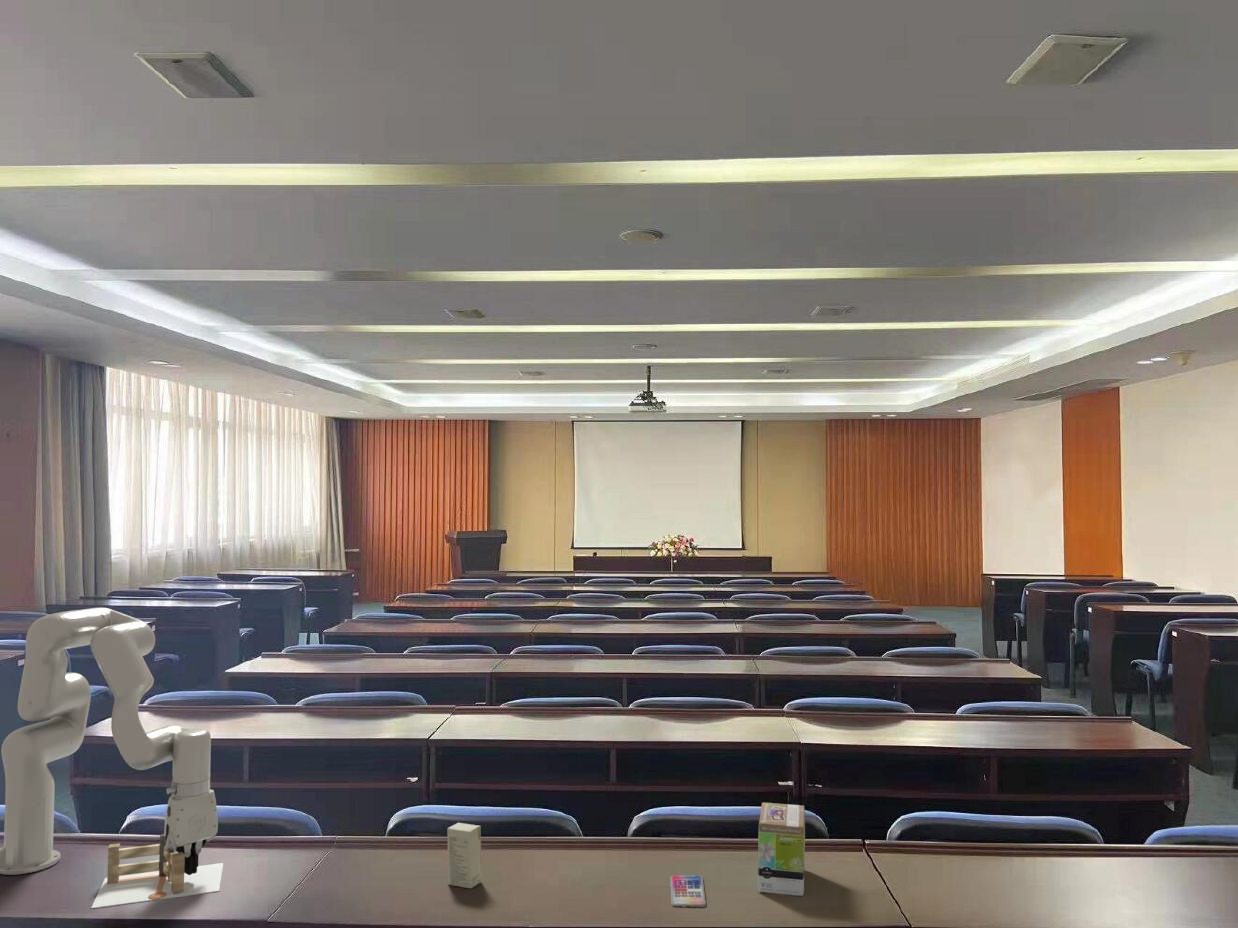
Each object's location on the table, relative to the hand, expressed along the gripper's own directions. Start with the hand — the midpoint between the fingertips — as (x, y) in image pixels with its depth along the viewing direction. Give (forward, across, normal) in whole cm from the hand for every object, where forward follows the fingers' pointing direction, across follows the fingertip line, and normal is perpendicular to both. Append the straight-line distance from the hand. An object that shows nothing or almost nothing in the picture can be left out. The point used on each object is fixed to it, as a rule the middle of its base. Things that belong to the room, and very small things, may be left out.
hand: (189, 872), depth 199 cm
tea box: (+3, +81, -102) cm, 130 cm away
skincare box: (+3, +37, -48) cm, 60 cm away
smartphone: (+3, +63, -89) cm, 109 cm away
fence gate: (+2, -3, +1) cm, 4 cm away
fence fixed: (+2, -6, +10) cm, 12 cm away
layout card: (+2, -4, +4) cm, 6 cm away
